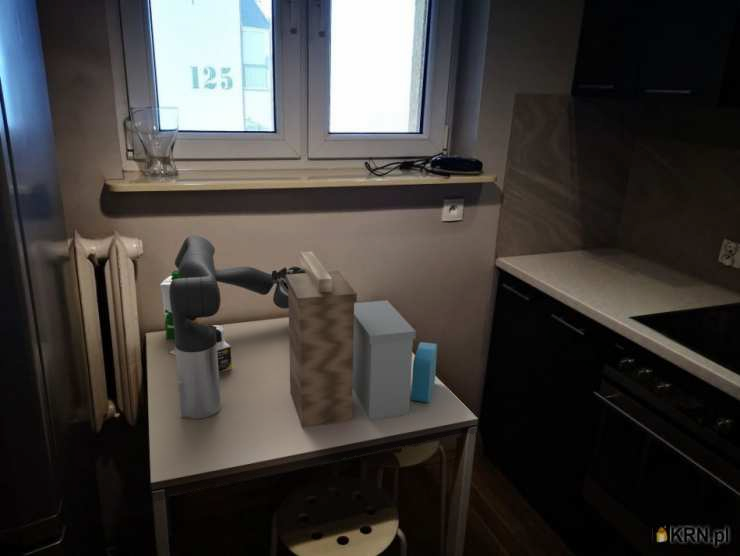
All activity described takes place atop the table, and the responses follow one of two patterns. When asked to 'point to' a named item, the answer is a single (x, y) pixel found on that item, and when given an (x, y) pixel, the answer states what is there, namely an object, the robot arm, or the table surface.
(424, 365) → the data package
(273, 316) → the table surface
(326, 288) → the birch rod
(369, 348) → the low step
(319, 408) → the wooden column with lip
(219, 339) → the medicine bottle
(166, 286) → the milk carton
